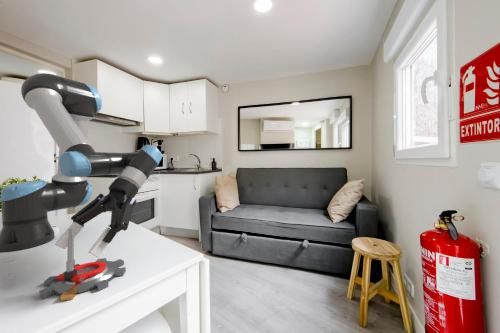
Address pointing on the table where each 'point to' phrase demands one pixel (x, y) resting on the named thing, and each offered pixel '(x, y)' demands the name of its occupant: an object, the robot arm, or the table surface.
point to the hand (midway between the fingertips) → (75, 250)
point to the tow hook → (71, 270)
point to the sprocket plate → (94, 282)
